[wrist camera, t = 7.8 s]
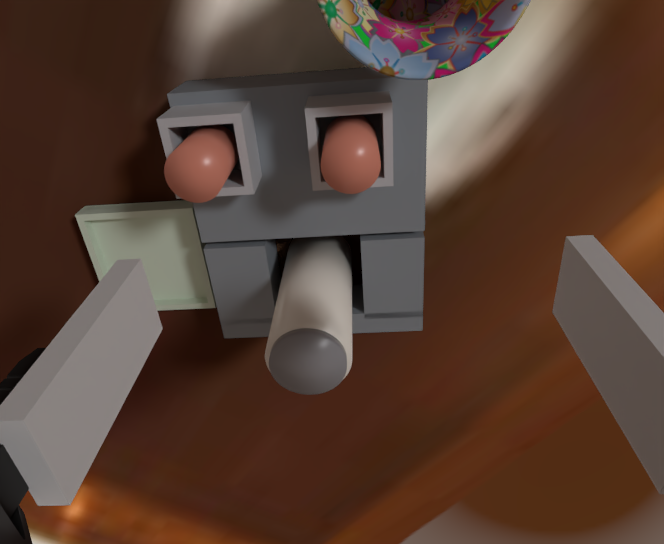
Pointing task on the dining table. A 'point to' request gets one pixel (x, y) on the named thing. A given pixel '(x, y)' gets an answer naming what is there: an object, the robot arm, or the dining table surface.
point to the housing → (309, 189)
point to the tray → (152, 248)
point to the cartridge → (313, 316)
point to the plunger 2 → (350, 154)
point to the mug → (421, 32)
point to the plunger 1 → (202, 163)
